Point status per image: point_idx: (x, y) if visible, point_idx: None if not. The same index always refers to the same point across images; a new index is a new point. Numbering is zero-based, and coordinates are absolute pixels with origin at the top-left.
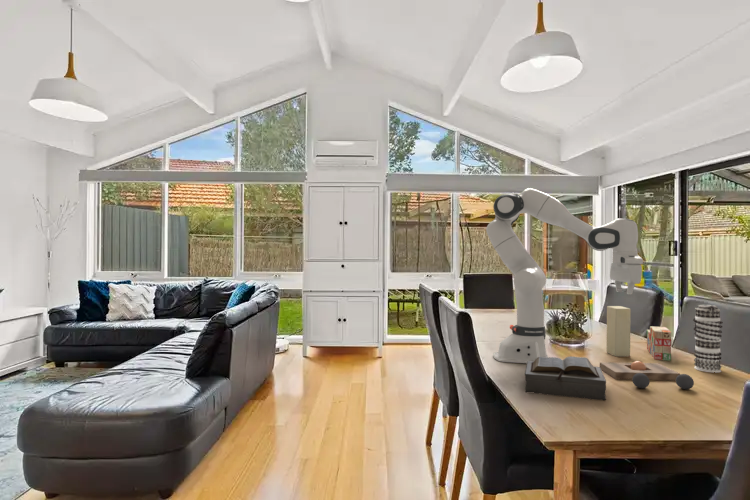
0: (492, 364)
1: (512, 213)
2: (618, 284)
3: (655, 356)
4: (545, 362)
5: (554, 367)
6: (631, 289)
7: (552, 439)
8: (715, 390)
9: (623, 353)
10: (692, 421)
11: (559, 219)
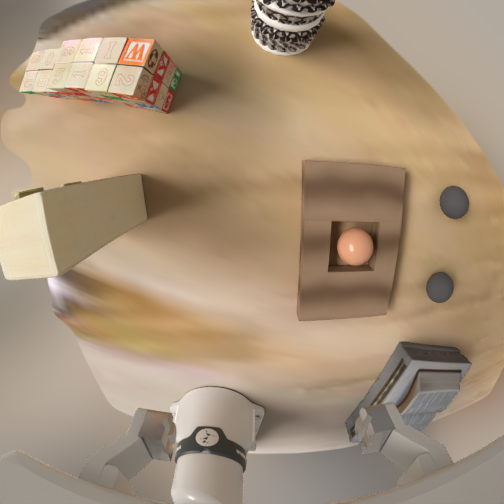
0: (268, 450)
1: None
2: (124, 467)
3: (165, 108)
4: None
5: (430, 421)
6: (407, 436)
7: (490, 391)
8: (449, 142)
9: (140, 195)
10: None
11: None
